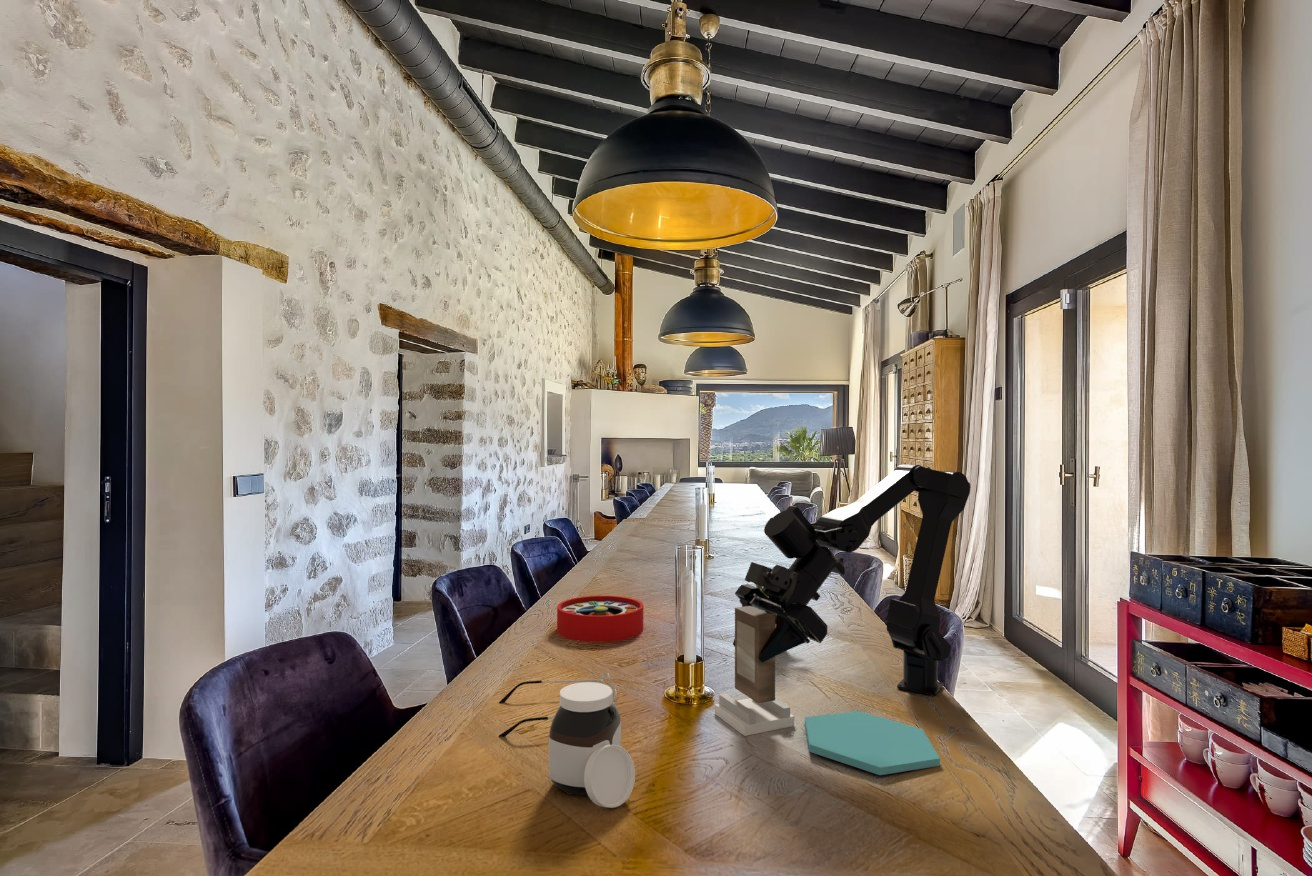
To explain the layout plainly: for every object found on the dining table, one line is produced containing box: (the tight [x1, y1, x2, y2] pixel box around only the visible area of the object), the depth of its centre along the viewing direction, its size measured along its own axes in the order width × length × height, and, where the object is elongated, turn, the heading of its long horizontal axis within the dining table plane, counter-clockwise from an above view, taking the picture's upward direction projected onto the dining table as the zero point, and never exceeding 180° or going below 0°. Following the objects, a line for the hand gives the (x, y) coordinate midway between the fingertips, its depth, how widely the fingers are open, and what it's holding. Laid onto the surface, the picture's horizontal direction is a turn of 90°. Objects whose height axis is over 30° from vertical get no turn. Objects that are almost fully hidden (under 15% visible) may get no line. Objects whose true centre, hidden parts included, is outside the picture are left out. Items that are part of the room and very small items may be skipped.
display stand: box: [714, 692, 795, 737], centre depth 107 cm, size 9×9×3 cm
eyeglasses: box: [498, 672, 618, 738], centre depth 109 cm, size 16×19×5 cm
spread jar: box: [547, 682, 636, 809], centre depth 86 cm, size 12×11×12 cm
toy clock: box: [556, 595, 644, 643], centre depth 158 cm, size 20×6×20 cm
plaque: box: [804, 710, 941, 776], centre depth 99 cm, size 18×2×20 cm
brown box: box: [734, 606, 776, 703], centre depth 107 cm, size 3×7×13 cm, turn 24°
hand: (747, 653), depth 107 cm, fingers closed on brown box, 7 cm apart
